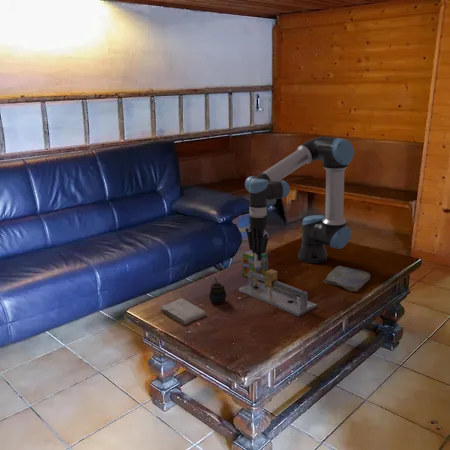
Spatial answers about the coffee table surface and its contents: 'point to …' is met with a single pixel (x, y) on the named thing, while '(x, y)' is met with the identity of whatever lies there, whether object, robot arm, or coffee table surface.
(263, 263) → the chalk box
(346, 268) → the grey stone slab
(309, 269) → the coffee table surface
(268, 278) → the block
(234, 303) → the coffee table surface
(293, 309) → the trammel beam
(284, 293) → the combination wrench
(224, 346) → the coffee table surface
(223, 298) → the mate gourd
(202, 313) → the washcloth
